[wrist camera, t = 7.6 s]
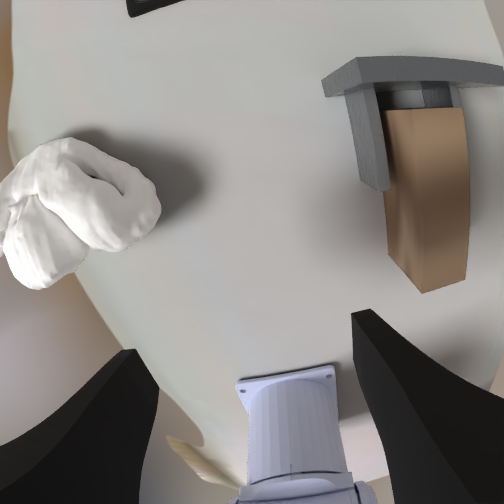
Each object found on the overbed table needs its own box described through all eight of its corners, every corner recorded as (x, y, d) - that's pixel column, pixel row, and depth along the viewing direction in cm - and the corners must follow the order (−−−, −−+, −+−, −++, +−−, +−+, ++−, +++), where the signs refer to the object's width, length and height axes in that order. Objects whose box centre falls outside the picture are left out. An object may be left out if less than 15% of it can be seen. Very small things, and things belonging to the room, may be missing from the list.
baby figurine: (187, 177, 16) (141, 319, 12) (88, 223, 22) (51, 316, 18) (84, 71, 10) (-30, 210, 6) (14, 164, 16) (-40, 259, 12)
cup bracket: (453, 165, 15) (515, 188, 10) (342, 183, 16) (383, 214, 11) (439, 74, 13) (502, 66, 7) (321, 80, 14) (356, 57, 8)
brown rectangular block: (425, 244, 18) (465, 279, 13) (387, 253, 18) (421, 293, 13) (413, 108, 14) (462, 107, 9) (369, 111, 14) (411, 109, 10)
